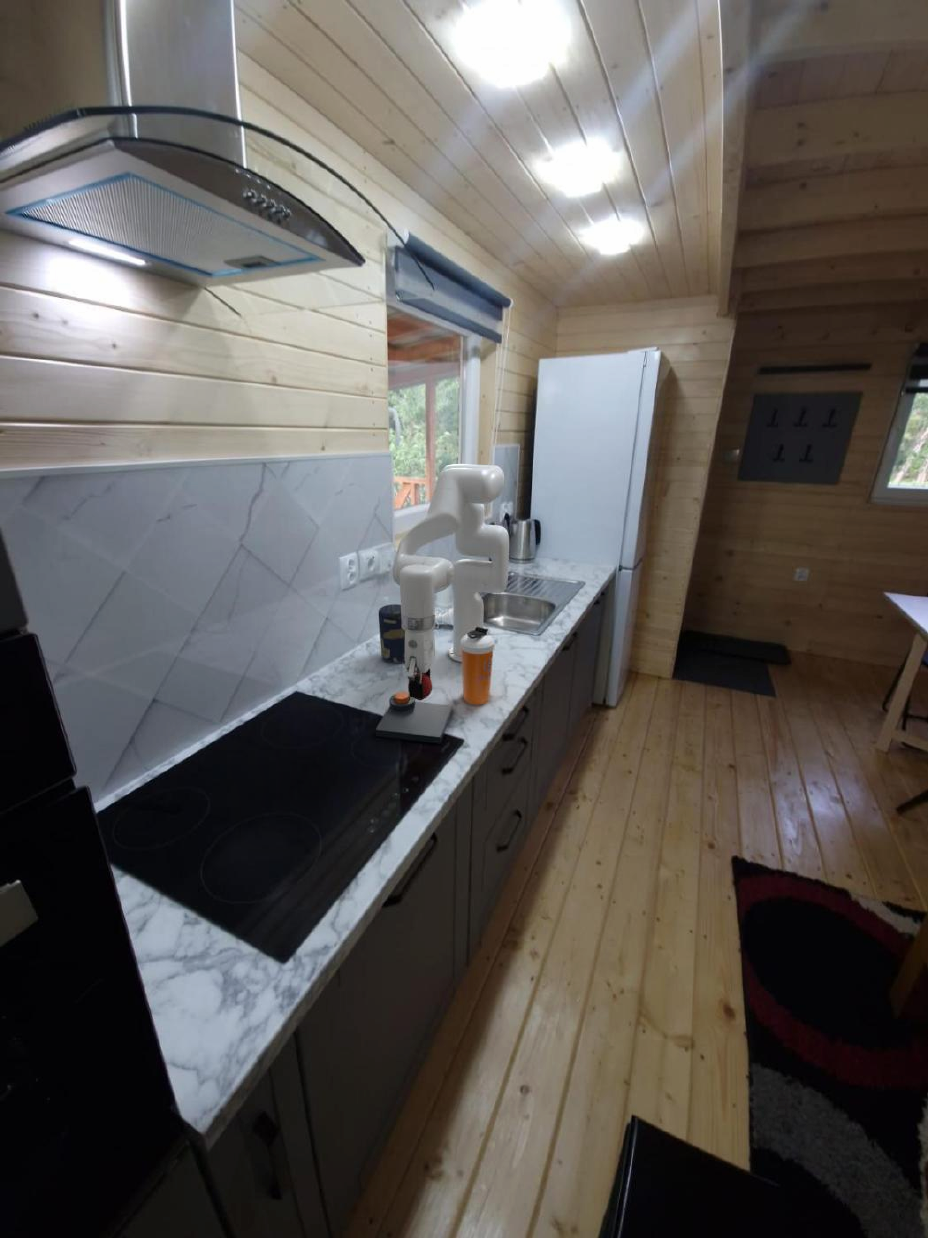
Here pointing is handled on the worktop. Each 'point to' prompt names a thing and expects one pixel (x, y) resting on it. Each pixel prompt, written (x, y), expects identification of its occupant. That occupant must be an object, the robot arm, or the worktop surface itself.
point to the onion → (424, 686)
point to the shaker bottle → (477, 665)
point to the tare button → (401, 697)
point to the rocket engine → (444, 618)
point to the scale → (415, 721)
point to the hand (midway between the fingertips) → (420, 689)
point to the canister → (391, 633)
